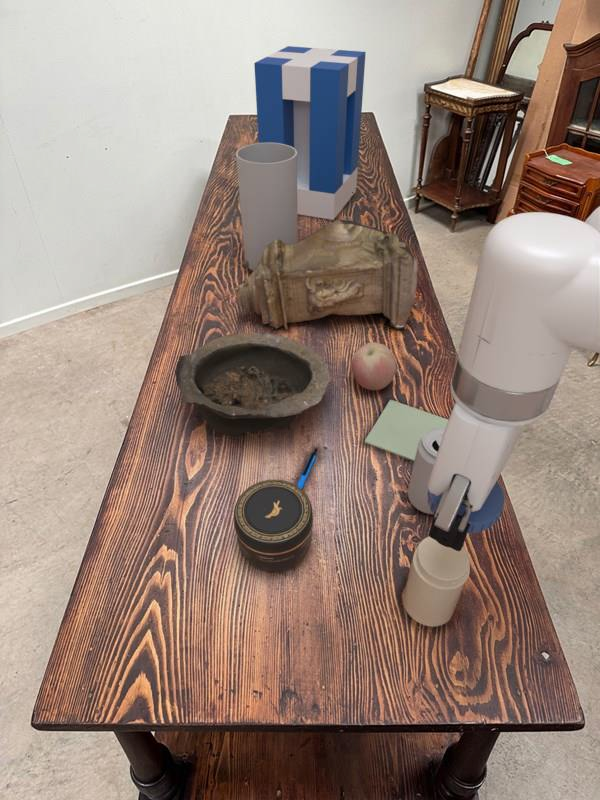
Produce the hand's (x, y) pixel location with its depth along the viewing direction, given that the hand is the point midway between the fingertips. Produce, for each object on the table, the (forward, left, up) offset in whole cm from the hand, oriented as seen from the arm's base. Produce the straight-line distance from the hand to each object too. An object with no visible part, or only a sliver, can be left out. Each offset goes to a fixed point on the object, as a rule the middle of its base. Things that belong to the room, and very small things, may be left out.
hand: (460, 513), depth 54 cm
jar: (+21, +2, -18) cm, 28 cm away
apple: (+22, -34, -18) cm, 44 cm away
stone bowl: (+38, -20, -18) cm, 46 cm away
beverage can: (+5, -15, -18) cm, 24 cm away
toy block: (+69, -100, -18) cm, 123 cm away
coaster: (+12, -26, -18) cm, 34 cm away
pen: (+22, -6, -19) cm, 30 cm away
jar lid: (0, 0, +3) cm, 3 cm away
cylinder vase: (+60, -63, -18) cm, 89 cm away
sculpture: (+40, -51, -18) cm, 67 cm away
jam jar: (0, 0, -18) cm, 18 cm away
